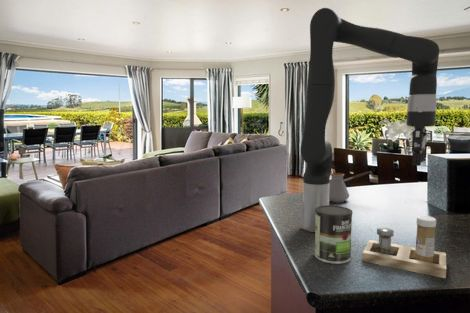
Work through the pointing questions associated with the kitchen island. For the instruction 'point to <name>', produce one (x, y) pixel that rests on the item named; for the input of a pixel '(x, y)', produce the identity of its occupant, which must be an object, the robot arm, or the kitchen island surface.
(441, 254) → the bolt-hole plate
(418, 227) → the sprinkles bottle
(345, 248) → the coffee can
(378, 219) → the kitchen island surface
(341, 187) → the coffee pot
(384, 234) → the grey metal bolt
